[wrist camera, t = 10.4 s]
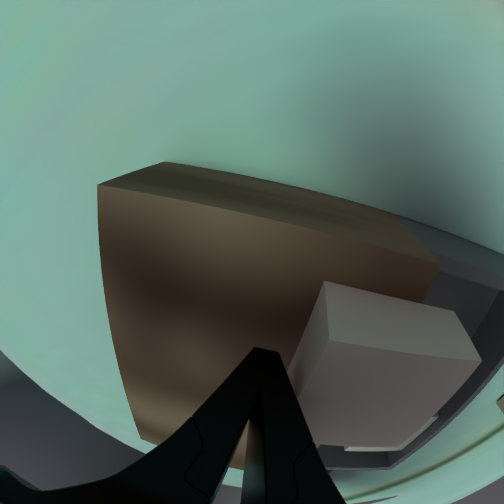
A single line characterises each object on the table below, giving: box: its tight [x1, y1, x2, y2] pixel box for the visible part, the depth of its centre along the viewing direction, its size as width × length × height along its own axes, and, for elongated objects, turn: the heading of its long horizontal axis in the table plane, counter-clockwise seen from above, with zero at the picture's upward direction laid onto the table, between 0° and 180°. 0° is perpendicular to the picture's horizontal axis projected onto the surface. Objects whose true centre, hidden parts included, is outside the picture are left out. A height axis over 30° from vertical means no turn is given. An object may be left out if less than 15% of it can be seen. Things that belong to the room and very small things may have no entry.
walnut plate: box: [97, 162, 441, 470], centre depth 14 cm, size 18×11×5 cm, turn 170°
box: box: [317, 215, 504, 470], centre depth 13 cm, size 18×9×4 cm, turn 170°
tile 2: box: [344, 411, 439, 451], centre depth 15 cm, size 5×5×2 cm
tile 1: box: [287, 281, 482, 447], centre depth 8 cm, size 5×5×2 cm
